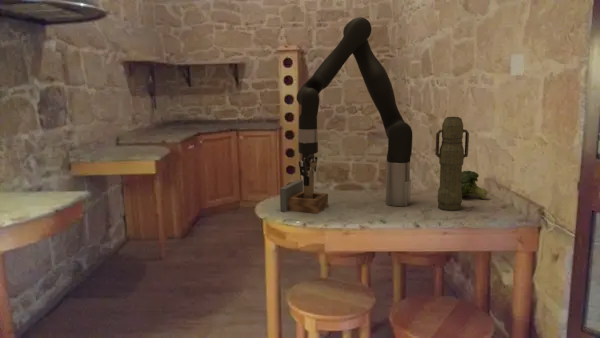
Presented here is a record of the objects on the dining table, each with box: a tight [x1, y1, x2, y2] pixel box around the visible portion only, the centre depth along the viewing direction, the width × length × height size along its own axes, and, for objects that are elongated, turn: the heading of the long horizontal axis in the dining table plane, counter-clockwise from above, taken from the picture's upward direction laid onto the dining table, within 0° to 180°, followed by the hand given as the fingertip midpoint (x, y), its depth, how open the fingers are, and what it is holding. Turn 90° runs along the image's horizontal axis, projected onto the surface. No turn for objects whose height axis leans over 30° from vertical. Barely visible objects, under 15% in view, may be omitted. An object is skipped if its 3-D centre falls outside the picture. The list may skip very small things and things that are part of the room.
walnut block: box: [287, 191, 329, 214], centre depth 187 cm, size 12×12×5 cm
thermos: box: [435, 116, 470, 212], centre depth 181 cm, size 9×12×35 cm
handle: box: [303, 161, 318, 199], centre depth 185 cm, size 5×6×15 cm
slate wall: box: [279, 179, 303, 213], centre depth 190 cm, size 2×17×9 cm, turn 157°
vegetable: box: [461, 170, 489, 200], centre depth 199 cm, size 12×13×15 cm
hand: (308, 184), depth 185 cm, fingers closed on handle, 4 cm apart
